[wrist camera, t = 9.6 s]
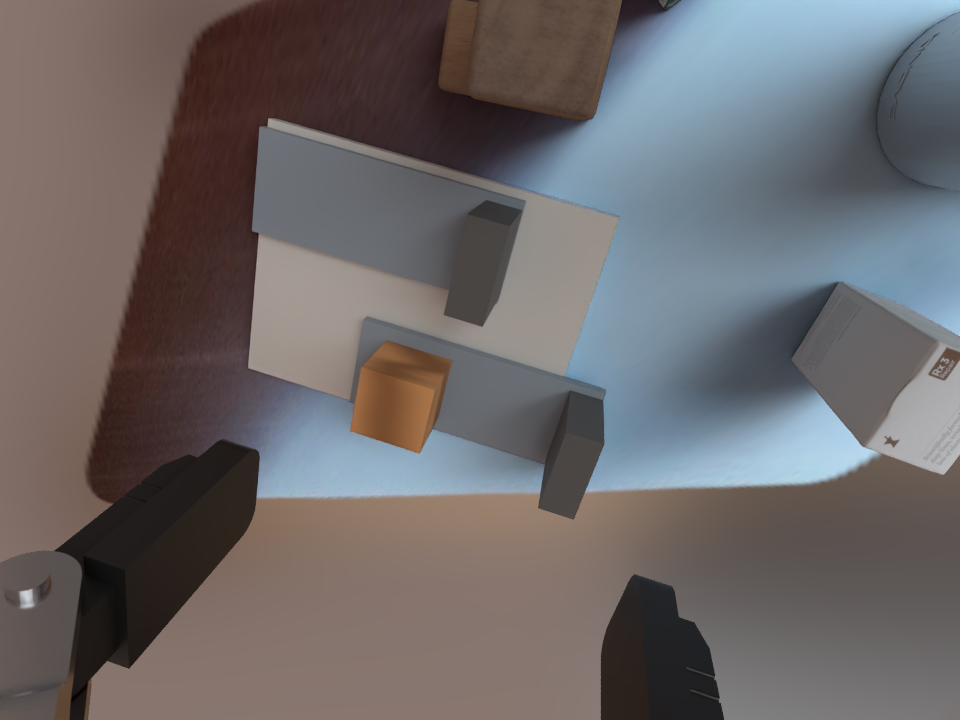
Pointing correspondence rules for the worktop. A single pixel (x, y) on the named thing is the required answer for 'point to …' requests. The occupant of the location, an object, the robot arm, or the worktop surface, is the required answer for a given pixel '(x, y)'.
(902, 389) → the skincare box
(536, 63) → the wooden block
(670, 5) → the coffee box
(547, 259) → the lane board
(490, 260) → the strip empty
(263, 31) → the worktop surface
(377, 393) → the cube
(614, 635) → the robot arm
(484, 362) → the strip with cube
